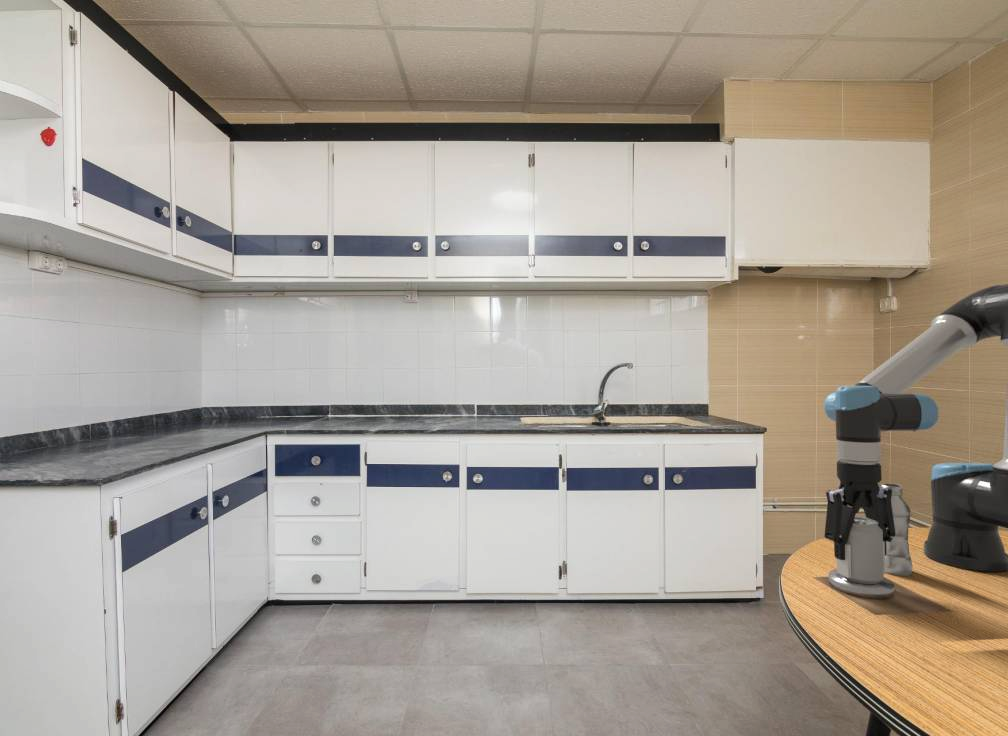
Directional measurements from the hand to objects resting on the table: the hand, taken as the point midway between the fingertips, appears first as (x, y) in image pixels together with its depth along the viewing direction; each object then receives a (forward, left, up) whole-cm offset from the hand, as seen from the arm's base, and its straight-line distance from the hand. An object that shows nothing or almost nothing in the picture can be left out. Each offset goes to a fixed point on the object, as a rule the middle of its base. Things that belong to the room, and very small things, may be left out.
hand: (861, 573), depth 104 cm
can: (0, 0, -1) cm, 1 cm away
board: (-1, +3, -4) cm, 5 cm away
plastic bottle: (-14, -8, -4) cm, 17 cm away
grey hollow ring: (0, 0, -3) cm, 3 cm away
